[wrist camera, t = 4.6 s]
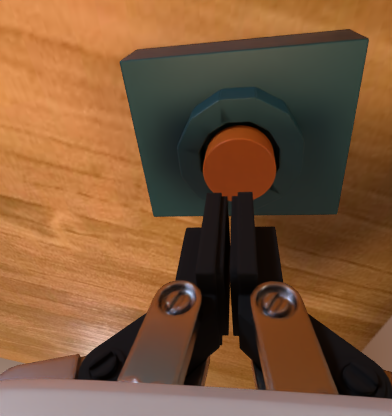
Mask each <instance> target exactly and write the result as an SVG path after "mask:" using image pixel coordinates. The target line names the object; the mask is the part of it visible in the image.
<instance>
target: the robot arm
mask: <svg viewBox="0 0 392 416" xmlns="http://www.w3.org/2000/svg"><path fill="white" fill-rule="evenodd" d="M230 288H231V304H232V320H233V335H234V336H239V342H240V349H241V350H242V351H243V352H244V353H245V354H246V355H247V356H248V357H249V358H250V359H251V366H252V371H253V376H254V382H255V387H256V390H254V389H238V388H222V387H205V386H204V385H205V381H206V377H207V372H208V368H209V364H210V355H211V354H212V353H213V352H215V351H216V350H217V349H218V348H219V347H220V345H222V335H228V333H229V299H230ZM0 416H392V372H389V371H386V370H383V369H382V368H381V367H380V366H379V365H377V364H376V363H375V362H374V361H373V360H371V359H370V358H368V357H367V356H366V355H364V354H363V353H362V352H360V351H359V350H358V349H356V348H355V347H353V346H352V345H351V344H349V343H348V342H346V341H345V340H344V339H342V338H341V337H340V336H338V335H337V334H335V333H334V332H333V331H331V330H330V329H328V328H327V327H326V326H324V325H323V324H322V323H320V322H319V321H317V320H316V319H315V318H313V317H312V316H311V315H309V314H308V313H307V310H306V308H305V305H304V303H303V300H302V298H301V296H300V294H299V293H298V291H297V290H295V289H294V288H293V287H292V286H290V285H288V284H286V283H283V278H282V271H281V264H280V257H279V250H278V243H277V236H276V229H275V227H255V223H254V207H253V192H238V196H232V210H231V243H230V232H229V214H228V198H227V196H222V193H207V195H206V201H205V208H204V215H203V222H202V228H187V229H186V231H185V236H184V241H183V246H182V251H181V256H180V260H179V265H178V270H177V275H176V280H175V281H172V282H169V283H167V284H165V285H163V286H162V287H161V288H160V289H159V290H158V291H157V293H156V294H155V296H154V298H153V300H152V303H151V305H150V307H149V309H148V312H147V313H146V314H144V315H143V316H141V317H140V318H138V319H137V320H136V321H134V322H133V323H131V324H130V325H128V326H127V327H125V328H124V329H122V330H121V331H120V332H118V333H117V334H115V335H114V336H112V337H111V338H109V339H108V340H106V341H105V342H104V343H102V344H101V345H99V346H98V347H96V348H95V349H94V350H92V351H91V352H90V353H89V354H88V355H87V356H84V357H80V355H79V354H76V355H70V356H65V357H60V358H54V359H49V360H43V361H38V362H32V363H27V364H22V365H17V366H14V367H11V368H9V369H8V370H6V371H4V372H3V373H2V374H0Z"/></svg>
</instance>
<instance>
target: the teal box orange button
mask: <svg viewBox="0 0 392 416" xmlns="http://www.w3.org/2000/svg"><path fill="white" fill-rule="evenodd" d="M368 42H369V39H368V38H366V37H364V36H362V35H360V34H358V33H356V32H354V31H352V30H350V29H348V30H338V31H328V32H317V33H307V34H296V35H286V36H275V37H265V38H255V39H244V40H234V41H223V42H213V43H202V44H192V45H181V46H171V47H161V48H150V49H140V50H136V51H134V52H133V53H131V54H130V55H128V56H127V57H125V58H124V59H122V60H121V61H120V66H121V70H122V75H123V80H124V84H125V89H126V93H127V98H128V102H129V107H130V111H131V116H132V120H133V125H134V129H135V134H136V138H137V143H138V147H139V152H140V156H141V161H142V166H143V170H144V175H145V179H146V184H147V188H148V193H149V197H150V202H151V206H152V211H153V215H154V217H166V216H203V215H204V208H205V201H206V195H207V193H213V192H212V191H211V190H210V189H209V187H208V186H207V184H206V182H205V180H204V176H203V164H204V159H205V155H206V150H207V147H208V144H209V142H210V141H211V139H212V138H213V137H214V136H215V135H216V134H217V133H218V132H220V131H221V130H223V129H225V128H227V127H231V126H236V125H245V126H250V127H253V128H256V129H258V130H259V131H261V132H262V133H264V134H265V135H266V136H267V138H268V139H269V140H270V142H271V144H272V147H273V151H274V157H275V163H276V176H275V179H274V182H273V184H272V185H271V187H270V188H269V189H268V190H267V191H266V192H265V193H264V194H263V195H261V196H260V197H258V198H256V199H254V200H253V207H254V215H329V214H337V212H338V206H339V201H340V196H341V190H342V185H343V179H344V174H345V168H346V163H347V157H348V152H349V146H350V141H351V135H352V130H353V124H354V119H355V113H356V108H357V102H358V97H359V91H360V86H361V80H362V75H363V69H364V64H365V58H366V53H367V48H368ZM231 210H232V201H228V214H229V216H231Z"/></svg>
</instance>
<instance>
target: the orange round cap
mask: <svg viewBox="0 0 392 416" xmlns="http://www.w3.org/2000/svg"><path fill="white" fill-rule="evenodd" d="M203 176H204V180H205V182H206V184H207V186H208V187H209V189H210V190H211V191H212V192H213V193H222V196H227V198H228V201H232V196H238V192H253V200H254V199H256V198H258V197H260V196H261V195H263V194H264V193H265V192H266V191H267V190H268V189H269V188H270V187H271V185H272V184H273V182H274V179H275V176H276V163H275V157H274V151H273V147H272V144H271V142H270V140H269V139H268V138H267V136H266V135H265V134H264V133H262V132H261V131H259V130H258V129H256V128H253V127H250V126H245V125H236V126H231V127H227V128H225V129H223V130H221V131H220V132H218V133H217V134H216V135H215V136H214V137H213V138H212V139H211V141H210V142H209V144H208V147H207V150H206V155H205V159H204V164H203Z"/></svg>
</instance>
